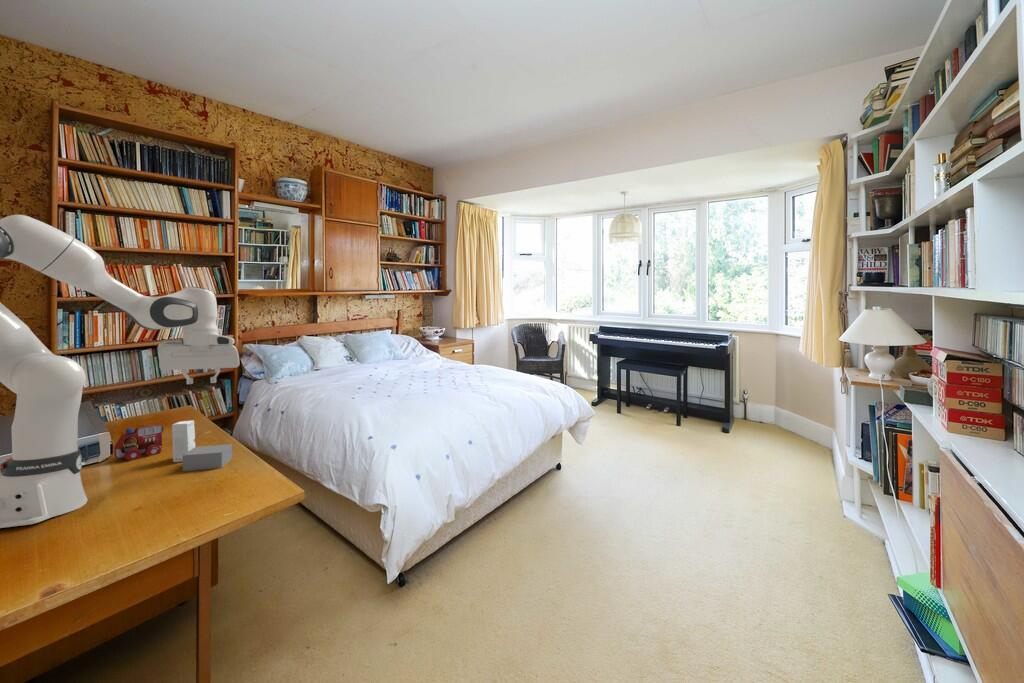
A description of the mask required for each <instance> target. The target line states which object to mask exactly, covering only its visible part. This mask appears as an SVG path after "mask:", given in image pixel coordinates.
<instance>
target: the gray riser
mask: <svg viewBox="0 0 1024 683" xmlns="http://www.w3.org/2000/svg"><path fill="white" fill-rule="evenodd" d="M231 458H232V459H233V444H232V443H231V444H218V445H204V446H203V445H202V446H195V448H193V449H192V450H190V451H188V452H187V453H185V454H184V455H182V462H181V463H182V472H188V471H189V472H190V471H201V470H210V469H213V470H214V469H221V468H223V467H224V466H225V465H226V464H228V463H229V462H230V461H231V460H232V459H231Z"/></svg>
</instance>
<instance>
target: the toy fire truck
mask: <svg viewBox="0 0 1024 683" xmlns="http://www.w3.org/2000/svg"><path fill="white" fill-rule="evenodd" d="M163 432H164V424H160V423H159V424H151V425H145V426H140V427H139V426H137V427H136V428H135V429H134V428H132V427H127V428H126V430H125V433H124V434H121V435H120V437H119V438H118V440H117V441H116V442H115V445H114V447H113V452H114V457H115V459H123V458H124V459H125V460H126V461H128V462H130V461H135V460H138V459H140V458H141V456H142V454H143V455H145V456H146V457H151V456H155V455H159V454H160V455H161V451H162V449H163V437H162V434H163Z"/></svg>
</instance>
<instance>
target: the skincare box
mask: <svg viewBox="0 0 1024 683" xmlns="http://www.w3.org/2000/svg"><path fill="white" fill-rule="evenodd" d="M171 430H172V432H171V434H172V435H171V436H172V437H171V438H172V458H173V459H172V462H174V463H180V462H181V463H183V462H182V455H184V454H185V453H187V452H188V451H190V450H192V449H193V448H195V447H196V430H195V420H182V421H181V420H180V421H178V422H175V423H173V424H171Z"/></svg>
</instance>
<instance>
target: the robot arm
mask: <svg viewBox="0 0 1024 683" xmlns="http://www.w3.org/2000/svg"><path fill="white" fill-rule="evenodd" d="M2 259H7V260H11V261H15V262H18V263H21V264H24V265H25V266H27V267H30V268H31V269H33V270H35V271H38V272H40V273H41V274H43V275H46V276H48V277H49V278H52V279H53V280H54V279H55V280H56V281H59V282H62V283H64V284H66V285H69V286H72V287H75V288H77V289H80V290H82V291H85V292H88V293H90V294H92V295H94V296H95V297H97V298H99V299H101V300H103V301H105V302H107V303H109V304H111V305H112V306H114V307H116V308H118V309H120V310H121V311H123V312H125V313H126V314H127V316H128V317H130V318H131V320H132V321H133V322H134V323H135V324H136V325H137V326H139V327H141V328H142V329H145V330H148V331H159V330H169V329H171V330H172V329H176V328H179V327H181V328H182V339H164V340H163V341H161V342H159V343H158V347H157V351H158V353H159V364H158V365H159V366H158V367H159V369H160V370H161V371H180V370H181V374H182V376H183V377H184V378H185V379H186V385H193V384H194V377H190V376H189V375H188V374H187V373H189V370H210V369H213V370H214V372H215V374H214V375H213V376H210V377H209V378H210V379H209V380H210V384H216V383H217V377H218V376H219V374H220V372H221V369H231V368H233V369H234V368H236V369H237V368H238V367H239V366H240V355H239V351H238V349H237V347H236V346H235V345H234V344H235V343H236V342H235V339H234V338H233V337H230V336H226V335H223V334H219V329H218V326H217V319H218V315H219V314H218V304H217V303H218V302H217V298H216V294H215V293H214V292H213V291H212V290H210V289H209V288H208V289H207V288H204V287H199V286H185V288H183V289H181V290H179V291H176V292H173V293H170V294H166V295H162V296H157V297H155V296H154V297H153V296H147V295H144V294H142V293H139V292H137V291H136V290H133V289H132V288H130V287H128V286H127V285H125V284H123V283H122V282H120V281H119V280H117V279H116V278H114V277H113V276H111V275H110V273H109V272H108V271H107V269H106V266H105V261H104V259H103V257H102V256H101V255H100V254H99V253H97V251H95V250H94V249H93V248H91V247H90V246H88V245H87V244H85V243H83V241H81V240H79V239H77V238H75V237H73V236H71V235H70V234H68V233H66V232H64V231H62V230H60V229H58V228H56V227H54V226H52V225H50V224H48V223H45V222H44V221H41V220H38V219H35V218H33V217H31V216H28V215H25V214H11V215H8V216H5V217H3V218H1V219H0V261H1V260H2ZM86 376H87V374H86V373H85V370H84V368H83V367H82V366H81V365H80V364H79V363H78V362H77V361H76V360H73V359H72V358H69V357H68V356H67V357H66V356H62V355H56V354H55V353H53V352H52V351H51V350H50V349H48V347H47V346H45V344H44V343H42V341H41V340H40V339H39V338H38V337H37V335H35V334H34V332H32V330H31V327H29V326H28V324H26V323H25V322H23V320H21V319H20V318H19V317H18V316H16V314H14V313H13V312H12V311H11V310H10V309H9V308H8V307H6V306H5V305H4V304H3V303H2V302H1V301H0V384H3V385H4V386H5V387H6V388H7V389H8V390H10V391H11V392H12V393H14V394H16V404H15V412H14V415H13V420H12V421H13V422H12V424H11V450H12V451H11V453H12V454H11V456H10V457H8V458H6V459H5V460H4V461H3V462H2V463H0V474H1V475H0V529H2V528H11V527H18V526H27V525H33V524H34V525H35V524H37V523H40V522H42V521H43V522H44V521H45V520H48V519H50V518H53V517H57V516H60V515H65V514H67V513H70V512H73V511H75V510H78V509H80V508H82V507H84V506H85V505H86V503H87V502H88V497H87V495H86V493H85V489H84V486H83V482H82V476H81V471H82V460H83V459H82V454H81V449H79V433H78V432H79V428H78V424H79V420H78V419H79V413H80V407H81V403H82V398H83V397H82V396H83V391H84V390H83V389H84V386H85V383H86V381H87V380H86V379H87V377H86Z"/></svg>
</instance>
